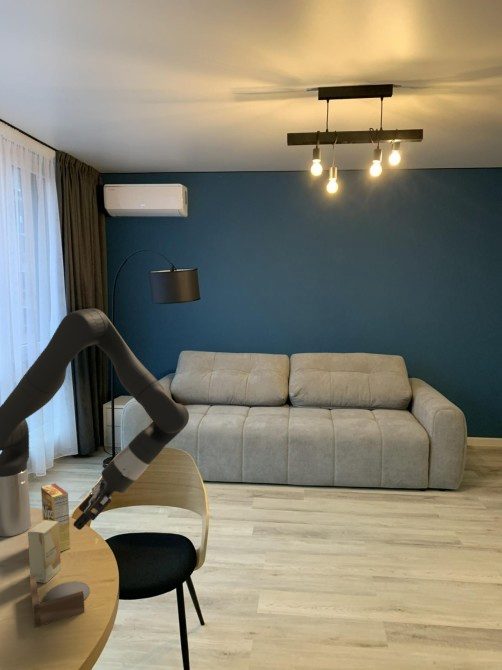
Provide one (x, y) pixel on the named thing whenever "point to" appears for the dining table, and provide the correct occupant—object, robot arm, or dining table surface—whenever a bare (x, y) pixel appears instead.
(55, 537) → the skincare box
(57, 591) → the pad
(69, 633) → the dining table surface
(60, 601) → the corner guide
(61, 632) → the dining table surface
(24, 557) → the dining table surface
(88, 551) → the dining table surface
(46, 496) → the candy box
